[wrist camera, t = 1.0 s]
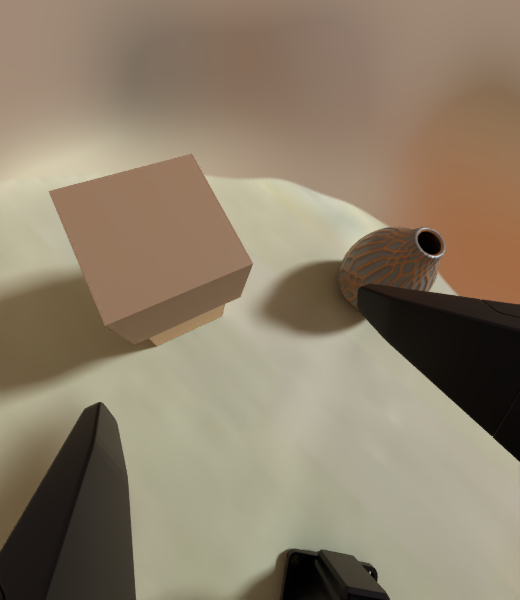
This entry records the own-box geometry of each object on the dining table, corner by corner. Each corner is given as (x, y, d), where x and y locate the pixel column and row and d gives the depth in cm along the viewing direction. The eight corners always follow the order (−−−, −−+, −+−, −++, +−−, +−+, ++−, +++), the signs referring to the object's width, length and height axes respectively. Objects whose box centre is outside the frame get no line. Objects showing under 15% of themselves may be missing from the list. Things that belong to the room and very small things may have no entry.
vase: (315, 293, 26) (367, 248, 18) (347, 242, 28) (406, 181, 20) (376, 336, 26) (458, 311, 17) (404, 281, 28) (487, 236, 20)
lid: (240, 296, 18) (252, 263, 13) (134, 344, 16) (104, 326, 11) (194, 210, 19) (191, 152, 14) (90, 244, 17) (47, 189, 12)
